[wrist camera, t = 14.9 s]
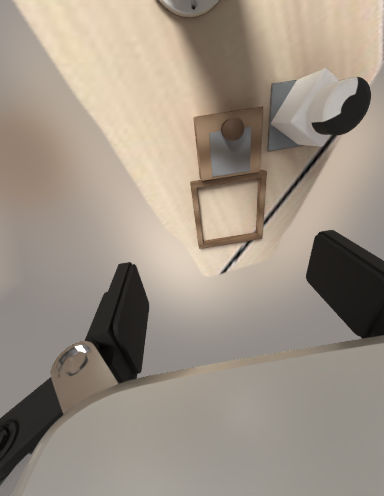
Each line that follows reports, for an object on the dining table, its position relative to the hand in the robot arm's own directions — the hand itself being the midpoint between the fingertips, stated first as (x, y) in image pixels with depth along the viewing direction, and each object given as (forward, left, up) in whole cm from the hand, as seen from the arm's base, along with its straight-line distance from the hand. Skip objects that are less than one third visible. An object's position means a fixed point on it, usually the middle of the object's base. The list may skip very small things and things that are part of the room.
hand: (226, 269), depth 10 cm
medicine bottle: (-6, +21, -32) cm, 39 cm away
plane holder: (+5, +8, -32) cm, 34 cm away
